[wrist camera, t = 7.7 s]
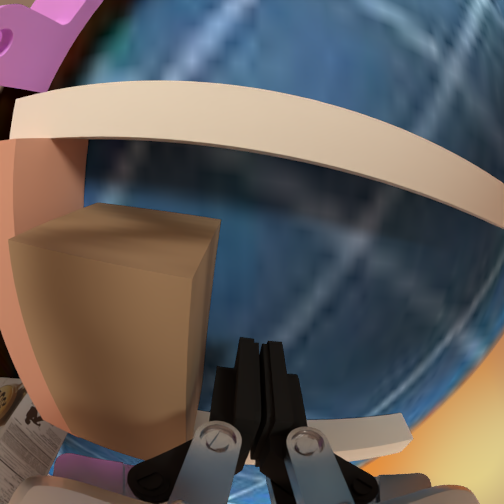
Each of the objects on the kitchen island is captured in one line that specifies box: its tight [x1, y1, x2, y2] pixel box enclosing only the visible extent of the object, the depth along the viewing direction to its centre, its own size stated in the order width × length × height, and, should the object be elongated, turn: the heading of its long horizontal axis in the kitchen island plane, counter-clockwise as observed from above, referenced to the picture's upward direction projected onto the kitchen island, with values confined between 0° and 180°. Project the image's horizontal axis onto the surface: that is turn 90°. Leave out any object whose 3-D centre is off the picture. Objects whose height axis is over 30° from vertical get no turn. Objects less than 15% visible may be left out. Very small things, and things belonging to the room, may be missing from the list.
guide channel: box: [0, 81, 504, 465], centre depth 11 cm, size 26×20×5 cm
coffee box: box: [0, 377, 68, 504], centre depth 10 cm, size 9×6×16 cm
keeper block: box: [8, 203, 221, 460], centre depth 10 cm, size 6×10×6 cm, turn 170°
